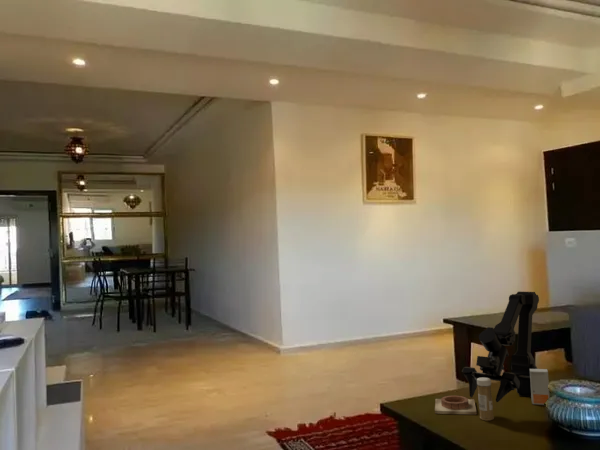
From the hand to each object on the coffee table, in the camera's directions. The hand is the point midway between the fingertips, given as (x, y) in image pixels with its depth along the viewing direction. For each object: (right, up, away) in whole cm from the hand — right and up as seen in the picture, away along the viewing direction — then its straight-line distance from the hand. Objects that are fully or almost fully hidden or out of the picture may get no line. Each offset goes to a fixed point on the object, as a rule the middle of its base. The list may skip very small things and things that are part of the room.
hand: (483, 399), depth 177 cm
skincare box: (+25, -6, +13) cm, 29 cm away
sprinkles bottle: (+1, -7, +1) cm, 7 cm away
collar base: (-5, -8, +14) cm, 17 cm away
